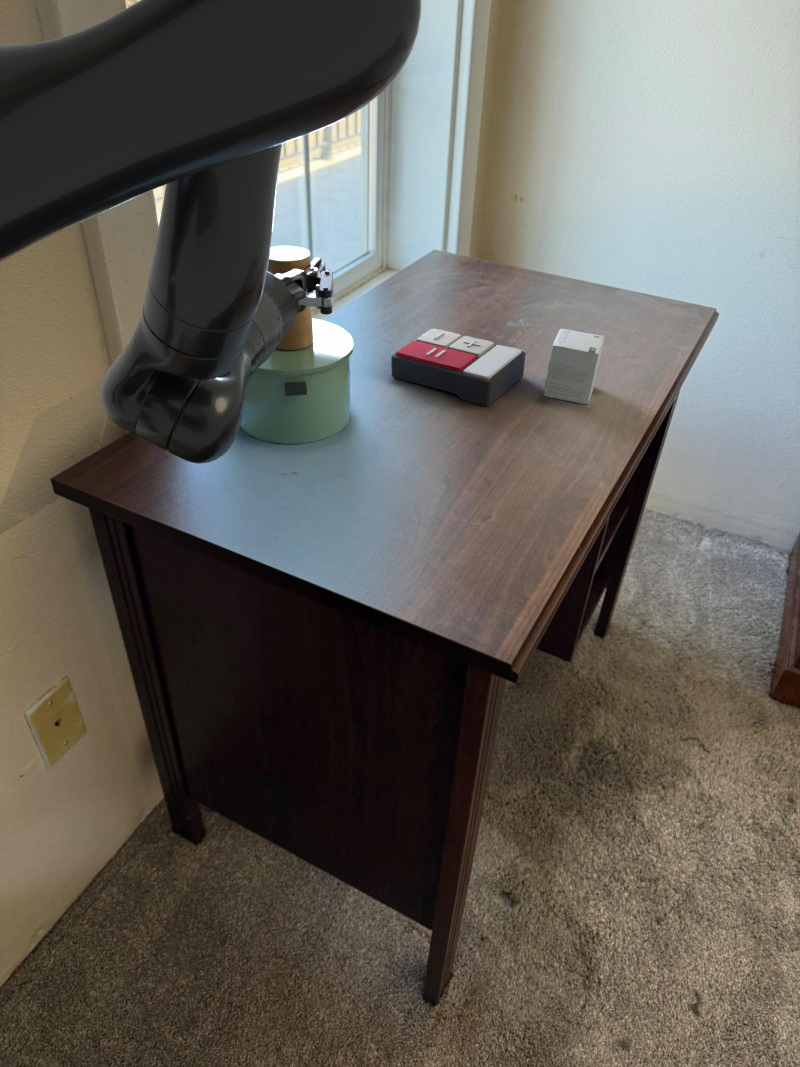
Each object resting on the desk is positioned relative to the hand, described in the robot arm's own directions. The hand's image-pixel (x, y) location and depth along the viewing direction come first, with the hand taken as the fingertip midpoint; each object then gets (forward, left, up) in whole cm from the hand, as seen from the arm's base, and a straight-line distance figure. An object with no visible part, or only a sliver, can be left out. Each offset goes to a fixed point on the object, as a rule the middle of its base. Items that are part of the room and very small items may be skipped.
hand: (293, 264), depth 84 cm
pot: (-1, -2, -18) cm, 18 cm away
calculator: (+22, +5, -18) cm, 29 cm away
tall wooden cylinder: (-1, -2, -8) cm, 8 cm away
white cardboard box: (+36, 0, -18) cm, 40 cm away
